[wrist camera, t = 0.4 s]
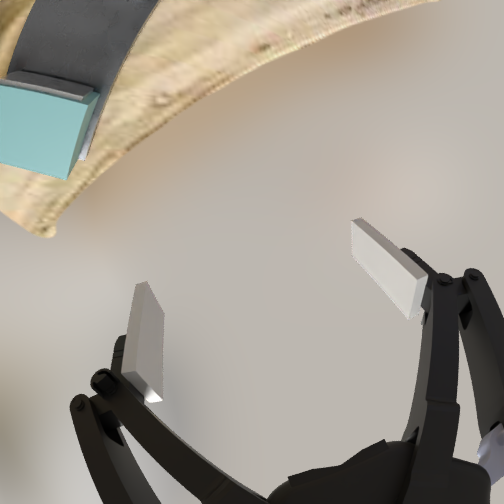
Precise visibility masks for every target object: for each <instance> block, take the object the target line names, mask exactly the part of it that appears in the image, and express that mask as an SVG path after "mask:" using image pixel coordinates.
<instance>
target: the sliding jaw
mask: <svg viewBox="0 0 504 504" xmlns="http://www.w3.org/2000/svg"><path fill="white" fill-rule="evenodd" d="M93 89H94V88H92V87H89V86H85V85H81V84H78V83H74V82H70V81H66V80H62V79H57V78H53V77H48V76H44V75H39V74H34V73H29V72H23V71H15V72H12V73H10V74H7V75H5V76H3V77H0V163H3V164H6V165H10V166H14V167H18V168H22V169H26V170H30V171H34V172H37V173H41V174H45V175H49V176H53V177H56V178H60V179H64V180H67V178H68V176H69V175H70V173H71V171H72V169H73V167H74V165H75V163H76V162H77V160H78V158H79V154H80V151H81V147H82V144H83V141H84V137H85V134H86V131H87V128H88V125H89V122H90V119H91V116H92V114H93V111H94V108H95V105H96V103H97V100H98V98H99V95H100V93H96V92H93Z"/></svg>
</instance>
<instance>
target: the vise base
mask: <svg viewBox="0 0 504 504" xmlns="http://www.w3.org/2000/svg"><path fill="white" fill-rule="evenodd" d="M159 2H160V0H36V1H35V3H34V5H33V7H32V9H31V11H30V13H29V15H28V18H27V20H26V22H25V24H24V27H23V29H22V32H21V34H20V37H19V39H18V42H17V45H16V47H15V50H14V53H13V56H12V59H11V62H10V65H9V69H8V72H7V74H10V73H12V72H15V71H23V72H29V73H34V74H39V75H44V76H48V77H53V78H57V79H62V80H66V81H70V82H74V83H78V84H81V85H85V86H89V87H92V88H94V89H93V92H96V93H100V95H99V98H98V100H97V103H96V105H95V108H94V111H93V114H92V116H91V119H90V122H89V125H88V128H87V131H86V134H85V137H84V141H83V144H82V147H81V151H80V154H79V158H78V159H80V160H84V161H85V159H86V157H87V155H88V153H89V149H90V146H91V143H92V140H93V137H94V134H95V131H96V128H97V125H98V122H99V120H100V117H101V114H102V112H103V109H104V107H105V104H106V102H107V99H108V97H109V94H110V92H111V90H112V87H113V85H114V83H115V81H116V78H117V76H118V74H119V72H120V70H121V68H122V66H123V64H124V62H125V60H126V58H127V56H128V54H129V52H130V50H131V48H132V46H133V45H134V43H135V41H136V39H137V37H138V36H139V34H140V32H141V30H142V29H143V27H144V25H145V24H146V22H147V20H148V19H149V17H150V16H151V14H152V12H153V11H154V9H155V8H156V6H157V5H158V3H159Z"/></svg>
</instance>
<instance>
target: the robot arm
mask: <svg viewBox="0 0 504 504" xmlns="http://www.w3.org/2000/svg"><path fill="white" fill-rule="evenodd" d="M351 228H352V257H353V258H354V259H355V260H356V261H357V262H358V263H359V264H360V265H361V266H362V267H363V268H364V270H365V271H366V272H367V273H368V274H369V275H370V276H371V277H372V278H373V280H374V281H375V282H376V283H377V284H378V285H379V286H380V287H381V289H382V290H383V291H384V292H385V293H386V294H387V295H388V297H389V298H390V299H391V300H392V301H393V302H394V304H395V305H396V306H397V307H398V308H399V310H400V311H401V312H402V313H403V314H404V315H405V317H406V318H407V319H408V320H409V319H411V318H412V317H415V316H416V315H418V314H419V311H420V307H422V308H423V309H424V310H425V312H424V315H423V319H422V322H421V325H423V330H422V342H421V352H420V360H419V367H418V375H417V381H416V386H415V393H414V398H413V402H412V407H411V412H410V416H409V420H408V424H407V427H406V430H405V432H404V434H403V437H402V440H401V441H392V442H386V441H385V439H383V440H381V441H379V442H377V443H375V444H373V445H371V446H369V447H367V448H365V449H362V450H361V451H360V452H358V453H357V454H356V455H354V456H353V457H351V458H350V459H349V460H347V461H346V462H344V463H343V464H341V465H339V466H334V467H326V468H317V469H311V470H308V471H305V472H302V473H299V474H295V475H292V476H289V477H288V479H289V480H288V481H286V482H284V483H283V484H282V485H280V486H278V487H277V488H276V489H275V490H274V491H273V492H272V493H271V494H270V496H269V497H268V498H267V499H266V498H264V497H263V496H261V495H259V494H258V493H256V492H254V491H253V490H251V489H249V488H247V487H246V486H244V485H243V484H241V483H239V482H238V481H236V480H235V479H233V478H232V477H231V476H229V475H228V474H226V473H225V472H223V471H222V470H220V469H219V468H218V467H216V466H215V465H214V464H212V463H211V462H210V461H208V460H207V459H206V458H204V457H203V456H202V455H201V454H199V453H198V452H197V451H196V450H194V449H193V448H192V447H191V446H189V445H188V444H187V443H186V442H185V441H184V440H182V439H181V438H180V437H179V436H177V434H175V433H174V432H173V431H172V430H171V429H170V428H169V427H168V426H166V425H165V424H164V423H163V422H162V421H161V420H160V419H159V418H158V417H157V416H156V415H155V414H154V413H153V412H152V411H151V410H150V409H149V408H148V407H147V406H146V405H144V398H145V399H147V400H148V401H149V402H150V403H151V402H158V401H163V335H164V312H163V310H162V308H161V307H160V305H159V303H158V301H157V300H156V297H155V295H154V294H153V292H152V290H151V288H150V286H149V284H148V282H147V281H146V282H143V283H140V284H137V285H136V287H135V292H134V297H133V302H132V307H131V312H130V317H129V323H128V329H127V334H126V335H122V336H119V337H118V339H117V341H116V343H115V346H114V353H113V359H112V364H111V370H109V369H105V368H104V369H100V370H98V371H97V372H96V373H95V374H94V375H93V377H92V379H91V384H90V385H91V387H92V389H93V390H94V391H95V392H96V393H97V395H95V396H92V397H90V398H88V397H87V396H86V395H84V394H79V395H76V396H75V397H74V398H73V400H72V401H71V403H70V412H71V416H72V420H73V424H74V427H75V431H76V434H77V437H78V441H79V444H80V447H81V450H82V453H83V456H84V459H85V461H86V464H87V467H88V469H89V472H90V475H91V477H92V479H93V482H94V484H95V486H96V489H97V491H98V493H99V496H100V498H101V500H102V502H103V504H161V502H160V501H159V499H158V498H157V496H156V495H155V493H154V492H153V490H152V488H151V486H150V485H149V483H148V482H147V480H146V478H145V476H144V475H143V473H142V471H141V469H140V467H139V466H138V464H137V462H136V460H135V458H134V456H133V454H132V453H131V450H130V448H129V446H128V444H127V442H126V440H125V438H124V436H123V434H122V432H121V429H120V427H121V426H123V425H124V426H125V428H126V429H127V430H128V431H129V432H130V433H131V435H132V436H133V437H134V438H135V439H136V440H137V441H138V442H139V443H140V444H141V446H142V447H143V448H144V449H145V450H146V451H147V452H148V453H149V454H150V455H151V456H152V457H153V458H154V459H155V460H156V461H157V462H158V463H159V464H160V465H161V466H162V467H163V468H164V469H165V470H166V471H167V472H168V473H169V474H170V475H171V476H172V477H173V478H174V479H176V480H177V481H178V482H179V483H180V484H181V485H182V486H184V487H185V488H186V489H187V490H188V491H190V492H191V493H192V494H193V495H194V496H195V497H197V498H198V499H199V500H200V501H201V503H202V504H490V491H491V486H492V485H493V484H494V483H495V482H497V481H498V480H499V479H500V478H501V477H503V476H504V318H503V315H502V313H501V311H500V308H499V306H498V304H497V302H496V299H495V298H494V295H493V293H492V291H491V289H490V287H489V285H488V283H487V281H486V279H485V277H484V275H483V274H482V273H481V272H480V271H479V270H477V269H474V268H469V269H467V270H465V272H464V276H463V277H459V278H452V277H451V276H450V275H448V274H445V273H439V274H438V273H437V272H436V271H434V270H433V269H432V268H431V267H430V266H429V265H428V264H427V263H425V262H424V261H422V259H421V258H420V257H418V256H417V255H416V254H415V253H414V252H413V251H411V250H408V249H406V248H402V249H399V248H398V247H397V246H395V245H394V244H393V243H392V242H391V241H390V240H388V239H387V238H386V237H385V236H384V235H382V234H381V233H380V232H379V231H377V230H376V229H375V228H374V227H372V226H371V225H370V224H369V223H367V222H366V221H365V220H364V219H362V218H358V219H355V220H352V221H351ZM459 331H460V335H461V338H462V342H463V346H464V349H465V353H466V357H467V362H468V366H469V370H470V375H471V380H472V386H473V391H474V397H475V403H476V411H477V419H478V425H479V430H480V434H481V438H482V440H481V442H480V445H479V449H478V451H477V455H478V457H479V458H480V459H479V463H478V464H475V463H471V462H468V461H464V460H461V459H457V458H453V452H454V447H455V441H456V436H457V430H458V423H459V415H460V405H459V404H458V403H457V402H456V398H457V386H458V369H459V368H458V367H459Z"/></svg>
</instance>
